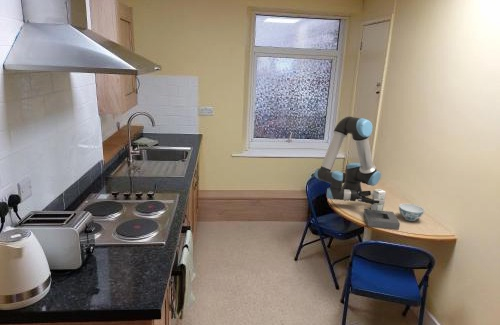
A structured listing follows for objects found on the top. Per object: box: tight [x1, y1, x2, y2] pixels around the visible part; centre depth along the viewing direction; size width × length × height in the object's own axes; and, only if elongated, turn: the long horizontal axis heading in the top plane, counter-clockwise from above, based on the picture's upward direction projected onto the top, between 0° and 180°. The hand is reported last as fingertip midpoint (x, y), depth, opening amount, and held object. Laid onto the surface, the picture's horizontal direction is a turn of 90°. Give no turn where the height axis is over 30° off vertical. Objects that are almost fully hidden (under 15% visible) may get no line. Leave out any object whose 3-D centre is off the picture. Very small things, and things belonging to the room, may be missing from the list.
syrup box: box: [370, 188, 387, 211], centre depth 233 cm, size 6×6×14 cm
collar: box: [363, 208, 401, 230], centre depth 217 cm, size 18×18×4 cm
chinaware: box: [398, 202, 425, 222], centre depth 223 cm, size 15×15×8 cm
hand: (382, 198), depth 232 cm, fingers open, 13 cm apart
